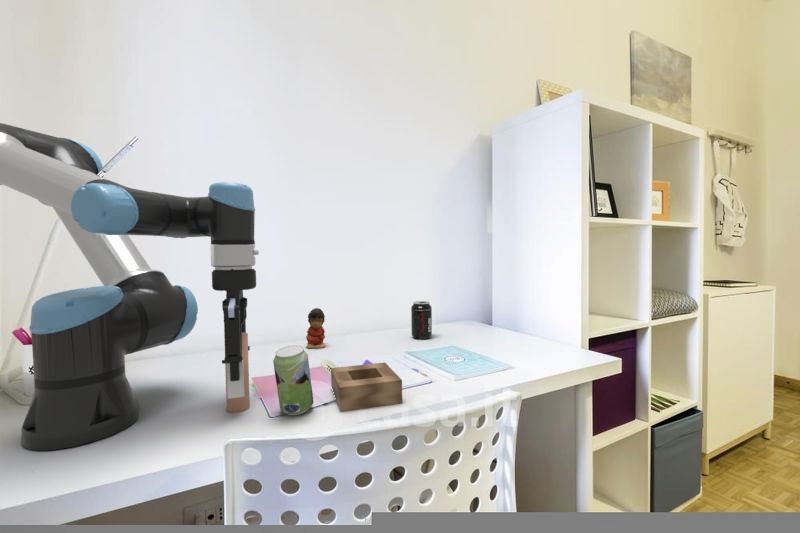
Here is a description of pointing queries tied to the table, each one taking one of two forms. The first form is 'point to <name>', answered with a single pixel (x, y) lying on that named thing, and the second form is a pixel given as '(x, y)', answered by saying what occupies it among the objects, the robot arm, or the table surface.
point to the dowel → (244, 402)
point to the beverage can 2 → (421, 320)
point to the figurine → (315, 329)
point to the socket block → (365, 386)
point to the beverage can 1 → (293, 380)
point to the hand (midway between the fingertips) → (237, 390)
